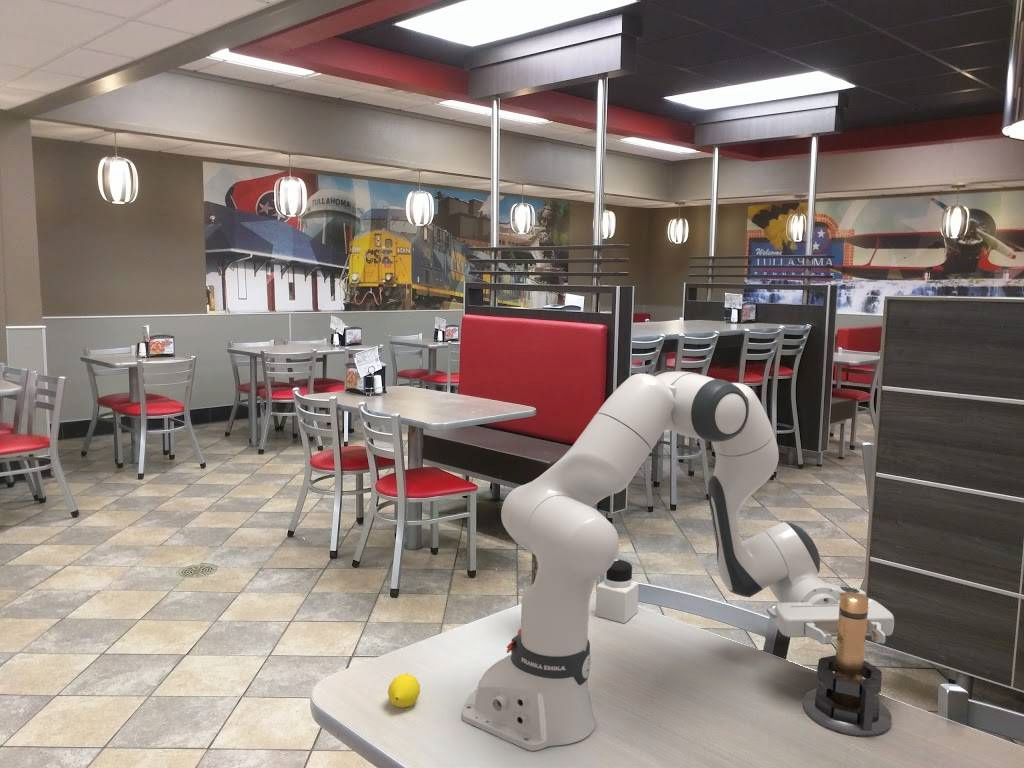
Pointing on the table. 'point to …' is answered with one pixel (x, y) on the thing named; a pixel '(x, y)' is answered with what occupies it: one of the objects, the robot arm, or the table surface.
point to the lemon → (404, 690)
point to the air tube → (850, 643)
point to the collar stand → (841, 718)
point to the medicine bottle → (617, 593)
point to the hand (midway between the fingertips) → (854, 639)
